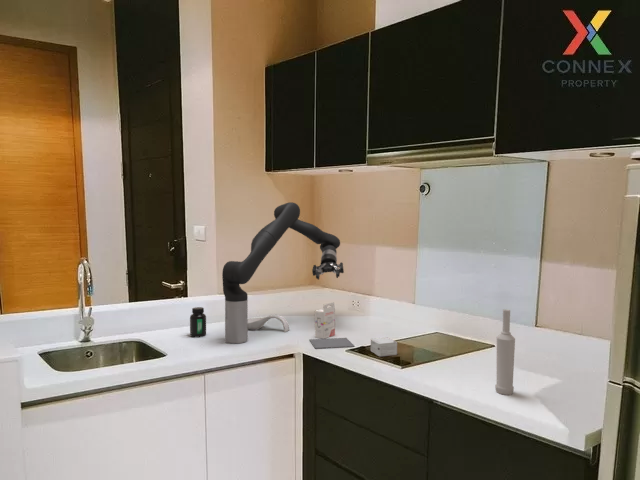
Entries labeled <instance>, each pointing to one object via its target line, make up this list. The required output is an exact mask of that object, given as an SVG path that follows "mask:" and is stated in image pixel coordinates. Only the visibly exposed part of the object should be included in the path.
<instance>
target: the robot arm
mask: <svg viewBox="0 0 640 480" xmlns="http://www.w3.org/2000/svg"><path fill="white" fill-rule="evenodd" d="M300 208H301V207H300V206H299V204H298V203H296V202H285V203H284V204H281V205H278V206H277V207H276V208H275V209H274V211H273V215H274V217H273V218H274V219H273V220H272V221H271V222H270V223H268V224H266V225H264V227H262V228H261V229H260V230H259V231H258V233H256V235H255V236H254V237H253V238H252V240H251V244H250V253H249V254H248V256H247V257H246V258H245V259H243V260H242V261H235V260H229V261H227V262H226V263H224V265H223V267H222V268H223V269H222V273H221V274H222V279H221V280H222V292H223V295H224V304H225V305H224V311H225V312H224V313H225V314H224V339H225V340H224V341H225V343H226V344H227V343H229V344H243V343H246V342H248V338H249V336H248V335H249V334H248V332H249V331H248V330H249V329H248V319H249V317H248V315H249V314H248V311H249V309H248V307H249V306H248V301H249V298H248V297H249V296H248V292H246V291H245V290H244V289H242V287H241V286H240V285H246V284H247V283H248V282H249V281H250V280H251V279H252V277H253V276H254V274H255V273H256V271H257V270H258V267H259V266H260V265H261V263H262V262H263V261H264V259H265V258H267V255H268V254H269V253H270V252H271V250H273V248H274V247H275V246H276V245H277V243H278V242H279V240H280V239H281V238H283V235H285V233H287V232H286V231H288V229H292V230H294V231H295V232H297V233H298V234H299V233H300V234H302V235H303V236H304V237H306V238H307V239H308V240H310V241H312V242H313V243H315V244H316V245H319V249H320V252H321V257H320V264H319V266H318V265H316V264H313V266H312V269H311V270H312V273H311V274H312V276H313V277H314V276H315V279H317V280H320V276H322V275H324V274H325V273H326V274H327V273H334V274H335V277H336V279H338V278H339V277H340V276H341V275H340V274H344V273H345V272H344V271H345V270H344V263H343V261H342V262H340V263H338V256H337V253H338V252H337V249H338V248H339V247H340V246H341V240H340V239H339V238H338V236H336V235H334V234H331V233H328V232H325V231H323V230H322V229H321V228H320V227H318V226H316V225H314V224H312V223H309V222H307V221H304V220H301V219H299V218H300V216H301V209H300ZM337 263H338V264H337Z"/></svg>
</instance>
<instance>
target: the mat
mask: <svg viewBox="0 0 640 480" xmlns="http://www.w3.org/2000/svg"><path fill="white" fill-rule="evenodd" d="M308 340H309V343H311V345H312V347H314V349H315V350H323V349H326V350H327V349H340V348H341V349H343V348H355V347H356V346H355V345H354V343H352V342H351V341H350V339H349V338H347V337H334V338H333V337H331V338H330V337H328V338H325V339H322V338H313V339H312V338H311V339H308Z"/></svg>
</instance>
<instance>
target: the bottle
mask: <svg viewBox="0 0 640 480" xmlns="http://www.w3.org/2000/svg"><path fill="white" fill-rule="evenodd" d="M510 320H511V309H507V308H506V309H505V308H504V309H502V331H501V332H500V334H499V335H498V336H496V380H495V381H496V384H495V391H496V393H498V394H499V395H504V396H510V395H513V393H514V391H515V390H514V389H515V388H514V386H513V385H514V371H515V370H514V368H515V350H516V348H515V347H516V338H515V337H514V336H513V335H512V332H510V328H511V327H510V325H511V324H510V323H511V321H510Z"/></svg>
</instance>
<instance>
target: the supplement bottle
mask: <svg viewBox="0 0 640 480" xmlns="http://www.w3.org/2000/svg"><path fill="white" fill-rule="evenodd" d="M191 309H192V310H191V313H192V314H191V315H190V317H189V334H190V337H192V338H203V337H206V335H207V316H206V314H205V313H204V312H205V310H204V309H205V308H204V307H202V306H201V307H200V306H199V307H197V306H195V307H193V308H191Z"/></svg>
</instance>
